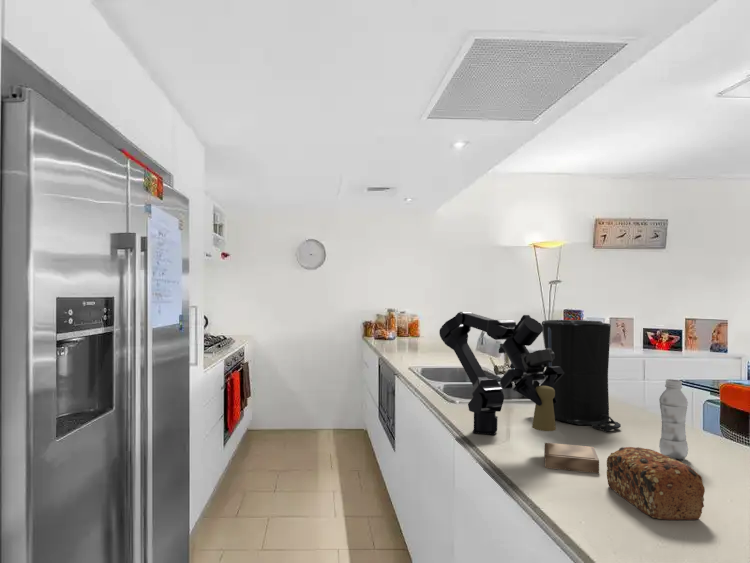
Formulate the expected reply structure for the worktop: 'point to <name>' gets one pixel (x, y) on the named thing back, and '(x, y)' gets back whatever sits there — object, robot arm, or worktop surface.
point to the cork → (544, 410)
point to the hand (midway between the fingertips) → (548, 404)
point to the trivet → (571, 457)
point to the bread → (656, 483)
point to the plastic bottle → (673, 421)
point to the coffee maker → (580, 371)
